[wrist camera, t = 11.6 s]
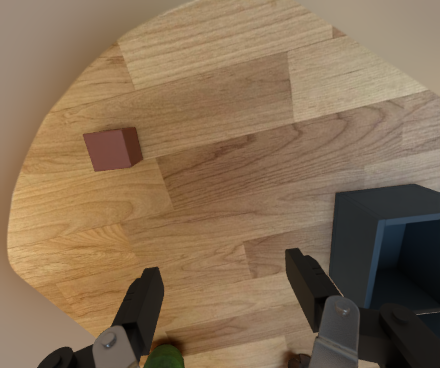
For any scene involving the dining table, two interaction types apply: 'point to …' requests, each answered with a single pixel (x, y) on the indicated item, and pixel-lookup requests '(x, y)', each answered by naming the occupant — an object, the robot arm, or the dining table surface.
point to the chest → (388, 247)
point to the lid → (432, 322)
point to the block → (113, 149)
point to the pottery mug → (293, 364)
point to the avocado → (165, 358)
